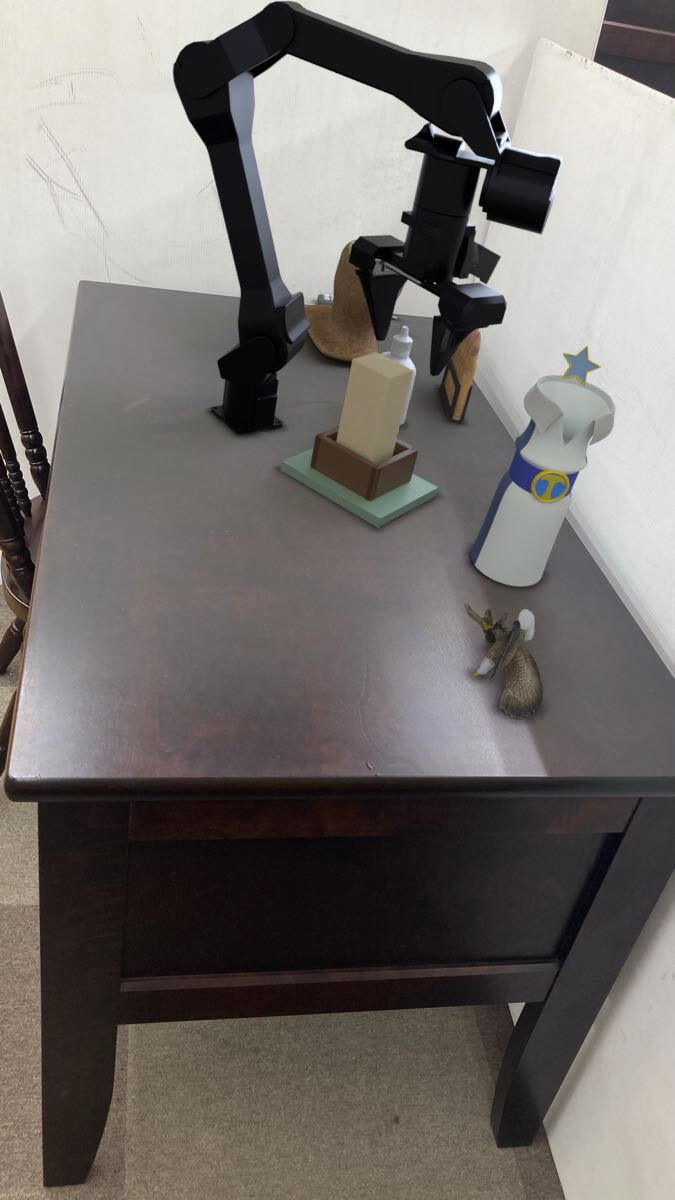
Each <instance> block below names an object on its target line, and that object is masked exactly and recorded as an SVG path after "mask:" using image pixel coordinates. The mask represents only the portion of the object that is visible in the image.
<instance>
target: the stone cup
mask: <svg viewBox="0 0 675 1200" xmlns="http://www.w3.org/2000/svg"><path fill="white" fill-rule="evenodd" d="M356 240H357V239H352V240H351V241H348V242H347V244H345V245H344V247H343V249H342V251H341V253H340V257H339V260H338V263H337V266H336V268H335V269H336V270H335V273H334V278H333V294H332V295H333V305H332V306H330V305H318V304H313V305H312V304H311V305H308V306H304V307H305V314H306V317H307V319H308V321H309V323H310V324H311V327H309V328H308V329H307V330H306V331H307V333H308V335H309V336H310V339H311V341H312V342H313V343H314V345H315V347H316V348H317V349H318V350H319V352H321V353H322V354H323V355H324V356H326V357H329V358H331V359H335V360H338V361H344V362H351V363H352V360H353V359H355V358H358V357H362V356H365V355H368V354H372V353H375V352H377V353H379V354H380V352H379V345H378V343H377V342H378V341H377V340H376V337H375V333H374V329H373V325H372V321H371V317H370V313H369V309H368V306H367V302H366V299H365V295H364V292H363V289H362V286H361V283H360V280H359V277H358V276H357V275H356V274H355V269H356V268H357V267H356V266H354V265H352V264H351V263H349V258H350V252H351V247H352V244H353V243H354V242H355V241H356ZM405 284H406V283H405ZM405 284H404V285H403V287H402V288H401V289H400V290H399V293H398V296H397V300H398V299H399V297H400V296H401V294H402V292H403V289H404V287H405Z"/></svg>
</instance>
